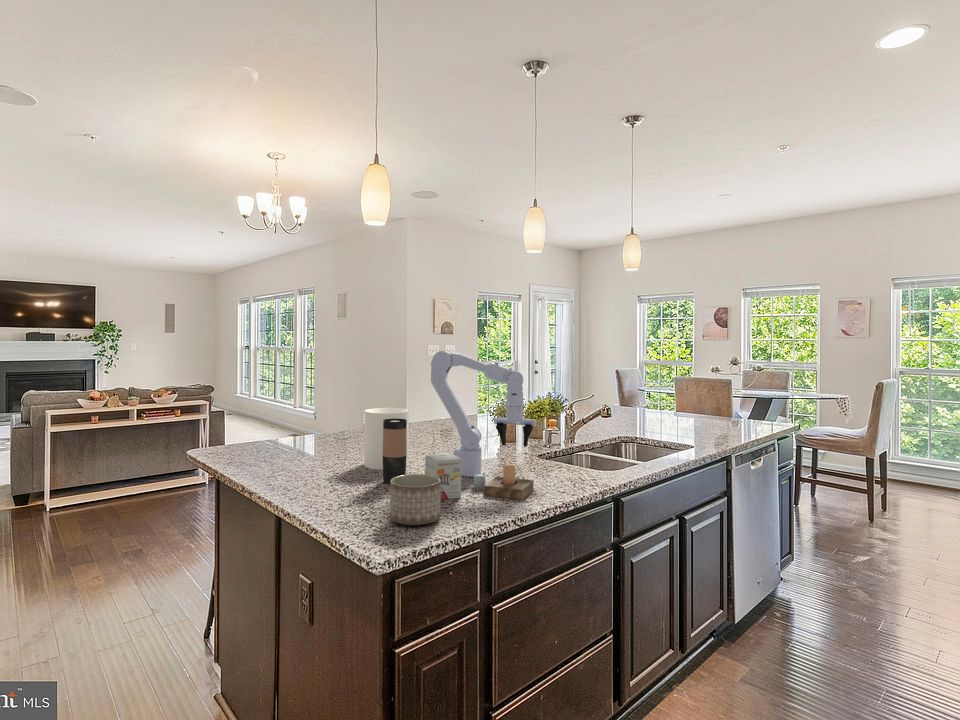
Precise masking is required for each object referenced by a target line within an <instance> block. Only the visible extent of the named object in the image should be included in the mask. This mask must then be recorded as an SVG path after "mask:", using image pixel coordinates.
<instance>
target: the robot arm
mask: <svg viewBox="0 0 960 720" xmlns="http://www.w3.org/2000/svg"><path fill="white" fill-rule="evenodd" d="M460 366H463V367H466V368H469V369H472V370H474V371H477V372H480V373H483V374H484V377H485V378H486V379H489V380H491V381H494V382H496V383H500V384H502V385H504V384H506V386H507V387H506V393H505V394H506V397H505V398H506V400H505V401H506V402H505V403H506V405H505V407H506V411H505V412H506V416H505V417H494V418H493V424H494V425H495V429H496V430H497V432H498V434H499V437H500V440H501V446H506V445H507V428H508V427H507V426H508V425H514V426H515V425H516V426H517V425H518V426H522V432H523V447H524V448H527V447H528V443H529V439H530V435H531V433H532V432H533V429H534V427H536V426H537V419H533V418H524V392H523V391H524V388H523V384H524V376H523V374H522V372H520V371H518V370H517V369H513V368H512V367H510V366H509V367H506V366H504V365H501V364H500V362H498V361H495V362H492V361H491V362H489V363H485V362H482V361H480V360H477V359H475V358H473V357H469V356H467V355H465V354H462V353H458V352H454V351H453V352H451V351H450V350H439V351H437V352H436V353H435V354H434V355H433V357H432V359H431V362H430V368H431V369H430V382H431V385H432V386H433V388H434V390H435V392H436V394H437V395H438V397H439V399H440V401H441V402H442V404H443V406H444V407H445V409H446V411H447V413H448V414H449V416H450V418H451V420H452V421H453V423H454V425H455V427H456V429H457V434H458V435H459V437H460V444H461V446H460V447H456V448H454V451H453V453H452V454H453V455H455V456H457V457H459V458H461V459H462V474H461V477H467V478H474V475H476V474H483V475H485V473H486V471H485V470H482V450H483V449H482V446H481V445H480V442H481V441H482V432H481V431H480V429H478V428H477V427H476V426H475V425H474V424H473V423H472V421H471V420H470V419H469V417H468V416H467V414H466V413H465V411H464V409H463V407H462V406H461V403H460V402H459V400H458V398H457V397H456V395H455V393H454V392H453V389H452V387H451V386H450V385H449V383H448V381H447V379H448V375H449V372H450V370H451V369H452V367H460Z"/></svg>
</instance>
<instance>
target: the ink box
mask: <svg viewBox="0 0 960 720" xmlns="http://www.w3.org/2000/svg"><path fill="white" fill-rule="evenodd" d="M424 458H425V459H424V460H425V463H424V466H425V467H424V474H425V475H432V476H436V477H438V478H440V480H441V496H440V501H444V500H452V499H459V498H462V476H461V474H462V459H461V458H459V457H457V456H455V455H453V453H437V454H435V453H434V454H425V457H424Z"/></svg>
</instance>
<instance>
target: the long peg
mask: <svg viewBox="0 0 960 720" xmlns="http://www.w3.org/2000/svg"><path fill="white" fill-rule="evenodd" d="M502 473H503V474H502V477H503V484H506V485H515V478H516V465H511V464H506V465H503V470H502Z"/></svg>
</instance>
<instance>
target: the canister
mask: <svg viewBox="0 0 960 720" xmlns="http://www.w3.org/2000/svg"><path fill="white" fill-rule="evenodd" d="M409 417H410V414H409V409H407V408H398V407H379V408H378V407H376V408H368V409H365V410H364V432H363V433H364V436H363V437H364V442H363V443H364V445H363V446H364V453H363V456H364V459H363V463H364V464H363V466H364V467H365V468H367V469H371V470H378V471H379V470H382V471H383V420H385V419H405V420H406V421H407V455H406V467H407V466H408V465H409V428H410V427H409V421H410V419H409Z"/></svg>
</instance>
